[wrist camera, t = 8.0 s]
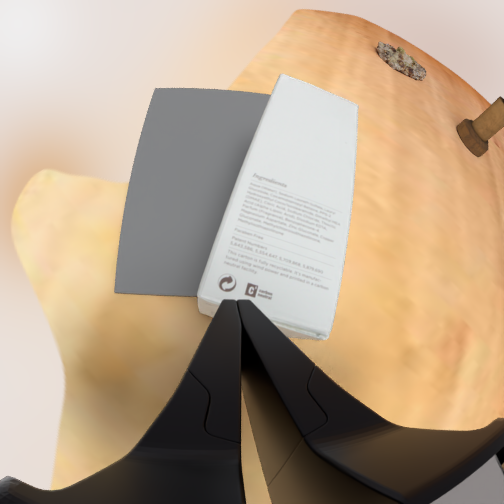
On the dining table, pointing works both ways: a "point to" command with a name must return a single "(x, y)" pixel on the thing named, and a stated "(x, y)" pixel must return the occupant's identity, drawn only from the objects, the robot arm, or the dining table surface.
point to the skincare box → (289, 213)
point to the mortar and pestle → (482, 128)
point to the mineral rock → (401, 61)
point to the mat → (182, 186)
